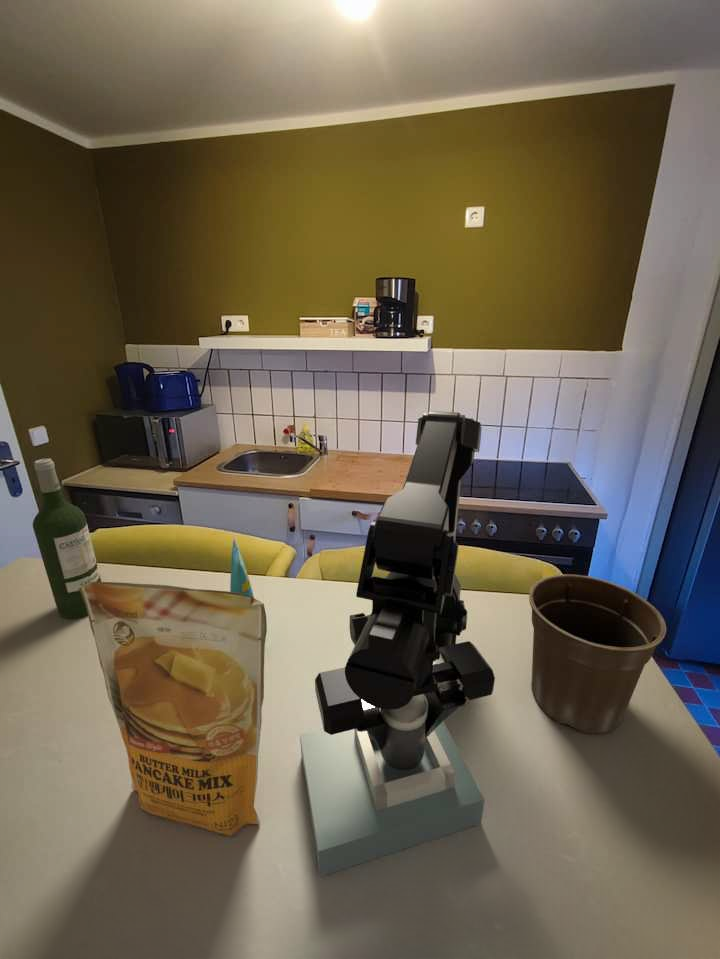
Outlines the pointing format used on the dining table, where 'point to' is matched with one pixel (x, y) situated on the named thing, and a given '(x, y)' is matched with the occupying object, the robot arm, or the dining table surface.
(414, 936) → the dining table surface
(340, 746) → the teal base with frame
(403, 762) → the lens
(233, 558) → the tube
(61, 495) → the wine bottle
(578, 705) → the plant pot
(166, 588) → the pancake mix bag
